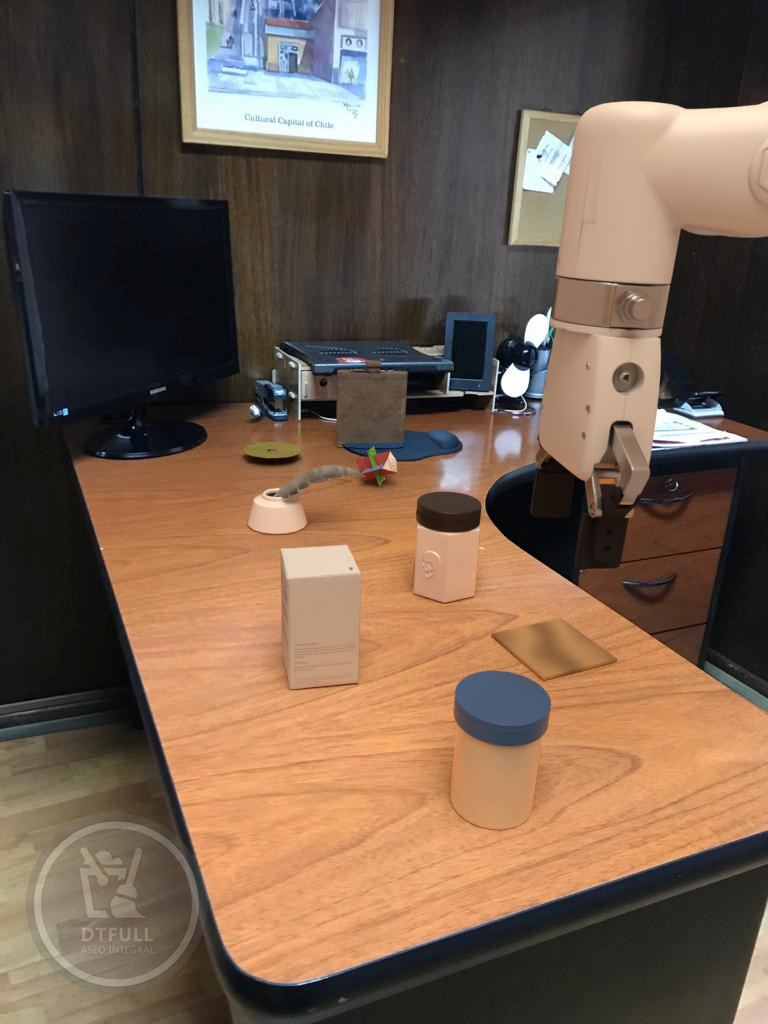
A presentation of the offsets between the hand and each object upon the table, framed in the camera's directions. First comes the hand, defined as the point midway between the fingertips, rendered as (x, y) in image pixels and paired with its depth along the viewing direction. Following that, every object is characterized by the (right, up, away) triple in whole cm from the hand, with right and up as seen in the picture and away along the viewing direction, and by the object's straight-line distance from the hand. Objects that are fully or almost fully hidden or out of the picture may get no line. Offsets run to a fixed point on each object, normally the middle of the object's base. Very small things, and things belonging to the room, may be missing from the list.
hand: (571, 539), depth 59 cm
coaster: (+5, -13, +29) cm, 32 cm away
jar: (-6, -8, +42) cm, 44 cm away
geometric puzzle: (-16, +7, +82) cm, 83 cm away
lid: (-5, -13, +2) cm, 14 cm away
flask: (-17, +16, +104) cm, 106 cm away
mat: (-36, +12, +93) cm, 100 cm away
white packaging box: (-21, -15, +23) cm, 34 cm away
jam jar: (-5, -22, +5) cm, 23 cm away
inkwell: (-26, 0, +61) cm, 66 cm away
